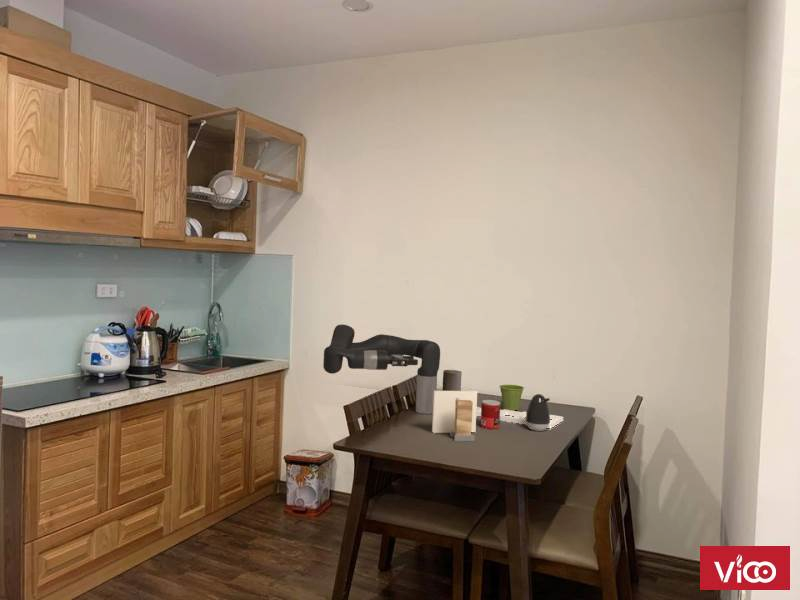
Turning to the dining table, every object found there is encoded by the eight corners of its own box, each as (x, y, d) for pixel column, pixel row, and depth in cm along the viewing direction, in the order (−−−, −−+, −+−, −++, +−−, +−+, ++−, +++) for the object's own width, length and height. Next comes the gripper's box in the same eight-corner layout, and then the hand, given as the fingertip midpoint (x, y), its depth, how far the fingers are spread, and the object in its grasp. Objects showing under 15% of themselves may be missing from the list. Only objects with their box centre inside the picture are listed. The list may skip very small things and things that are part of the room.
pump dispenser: (540, 434, 255) (542, 397, 254) (520, 428, 263) (521, 393, 262) (554, 430, 262) (556, 395, 261) (534, 425, 270) (536, 390, 269)
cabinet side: (431, 431, 252) (433, 390, 251) (474, 431, 255) (476, 390, 254) (439, 441, 238) (441, 397, 237) (484, 441, 241) (486, 398, 241)
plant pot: (496, 406, 305) (497, 384, 304) (521, 407, 304) (522, 385, 304) (499, 412, 293) (500, 388, 292) (524, 413, 292) (526, 389, 292)
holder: (456, 414, 288) (456, 408, 287) (473, 407, 303) (473, 402, 303) (550, 430, 264) (550, 424, 264) (563, 422, 279) (563, 416, 279)
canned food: (497, 430, 258) (498, 404, 258) (478, 428, 261) (480, 402, 260) (500, 426, 266) (501, 401, 265) (482, 424, 268) (483, 399, 268)
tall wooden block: (453, 437, 245) (455, 400, 244) (468, 437, 246) (470, 400, 245) (456, 439, 241) (457, 401, 241) (470, 439, 242) (472, 402, 242)
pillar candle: (439, 397, 320) (441, 369, 319) (444, 394, 329) (446, 366, 328) (458, 400, 317) (459, 371, 316) (462, 396, 326) (463, 368, 325)
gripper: (377, 353, 234) (419, 353, 237) (372, 348, 248) (412, 348, 251) (377, 372, 234) (418, 373, 237) (372, 366, 248) (411, 367, 251)
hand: (415, 360), depth 244 cm, fingers open, 8 cm apart
